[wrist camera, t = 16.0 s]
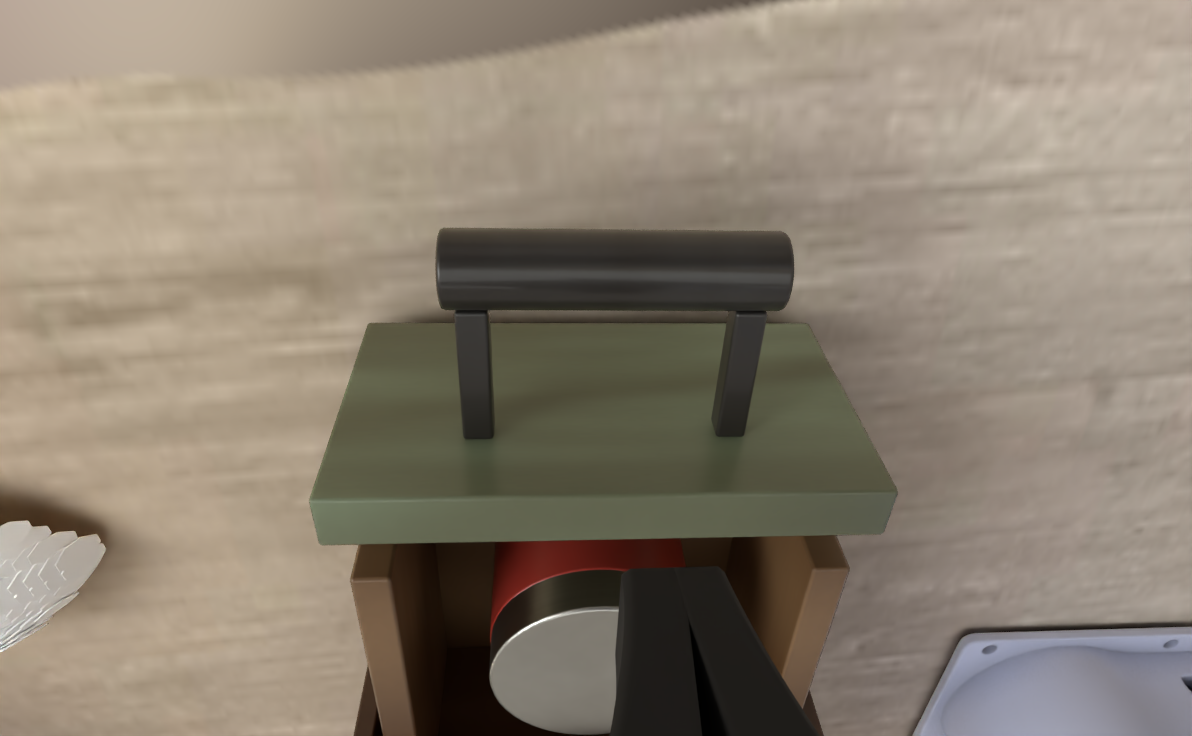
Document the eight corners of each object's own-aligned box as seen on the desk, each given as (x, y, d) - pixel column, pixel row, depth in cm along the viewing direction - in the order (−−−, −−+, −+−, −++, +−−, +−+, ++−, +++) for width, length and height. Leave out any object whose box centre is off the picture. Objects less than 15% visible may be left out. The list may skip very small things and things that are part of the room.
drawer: (340, 144, 16) (255, 286, 11) (847, 153, 17) (974, 289, 12) (414, 638, 26) (385, 831, 21) (737, 628, 26) (783, 813, 21)
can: (682, 447, 20) (718, 605, 16) (664, 571, 23) (692, 733, 19) (493, 448, 20) (482, 610, 16) (499, 575, 23) (490, 740, 19)
